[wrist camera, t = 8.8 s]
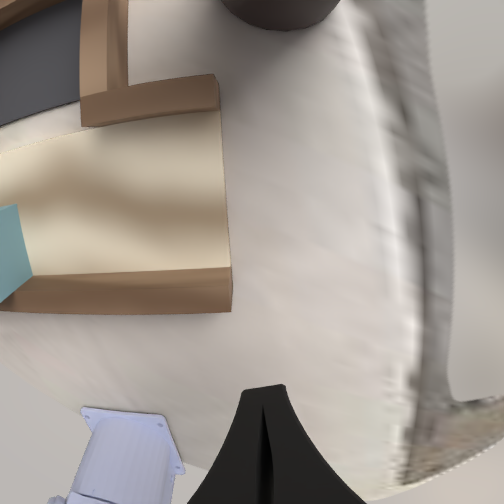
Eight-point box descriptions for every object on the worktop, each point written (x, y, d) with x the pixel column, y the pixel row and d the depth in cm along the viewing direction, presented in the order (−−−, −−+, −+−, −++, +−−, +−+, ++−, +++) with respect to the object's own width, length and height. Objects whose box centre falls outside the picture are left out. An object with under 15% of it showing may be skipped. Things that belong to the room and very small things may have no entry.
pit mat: (101, 94, 15) (99, 94, 15) (-4, 127, 15) (-6, 127, 15) (103, -15, 13) (102, -16, 12) (0, 29, 13) (-2, 28, 12)
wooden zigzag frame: (233, 290, 19) (231, 316, 17) (-27, 293, 19) (-47, 309, 17) (213, -51, 12) (208, -77, 9) (-54, 52, 12) (-78, 49, 9)
